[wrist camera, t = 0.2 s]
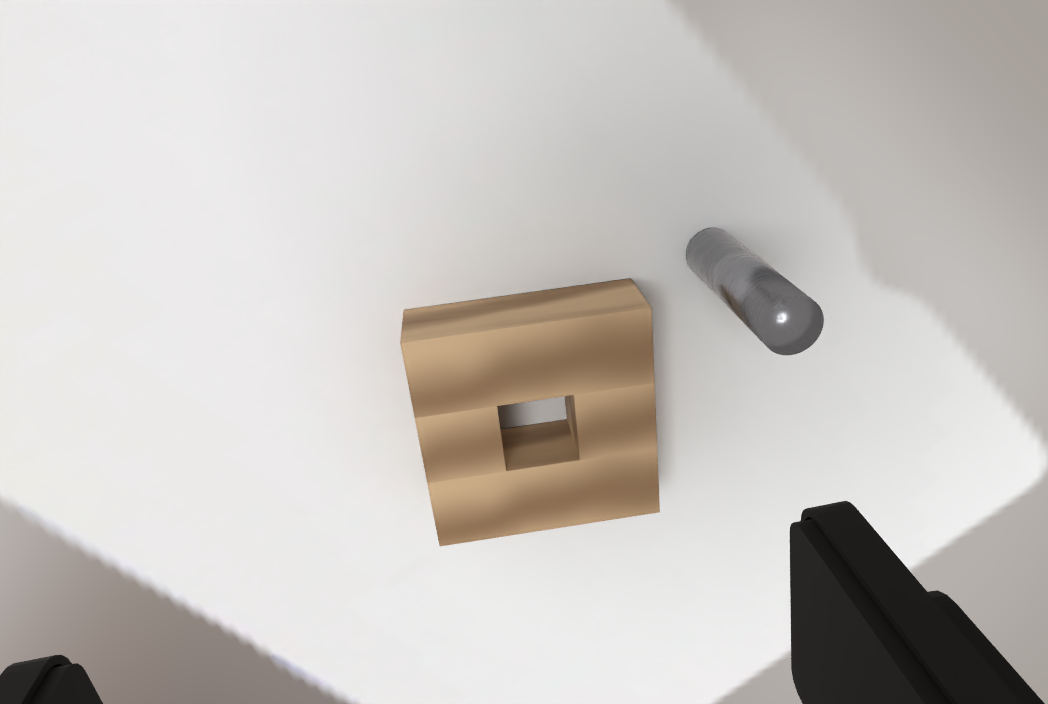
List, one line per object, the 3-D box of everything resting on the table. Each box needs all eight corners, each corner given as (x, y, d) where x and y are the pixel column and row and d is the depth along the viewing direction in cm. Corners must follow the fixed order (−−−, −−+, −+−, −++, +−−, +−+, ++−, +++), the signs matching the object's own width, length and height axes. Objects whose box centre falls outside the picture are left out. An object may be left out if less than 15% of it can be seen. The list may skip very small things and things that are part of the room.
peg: (685, 231, 46) (762, 301, 35) (733, 224, 46) (825, 292, 36) (686, 277, 47) (760, 359, 37) (733, 271, 48) (821, 350, 37)
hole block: (403, 310, 46) (400, 343, 42) (630, 278, 47) (651, 307, 43) (439, 499, 52) (439, 546, 48) (640, 468, 53) (659, 512, 48)
